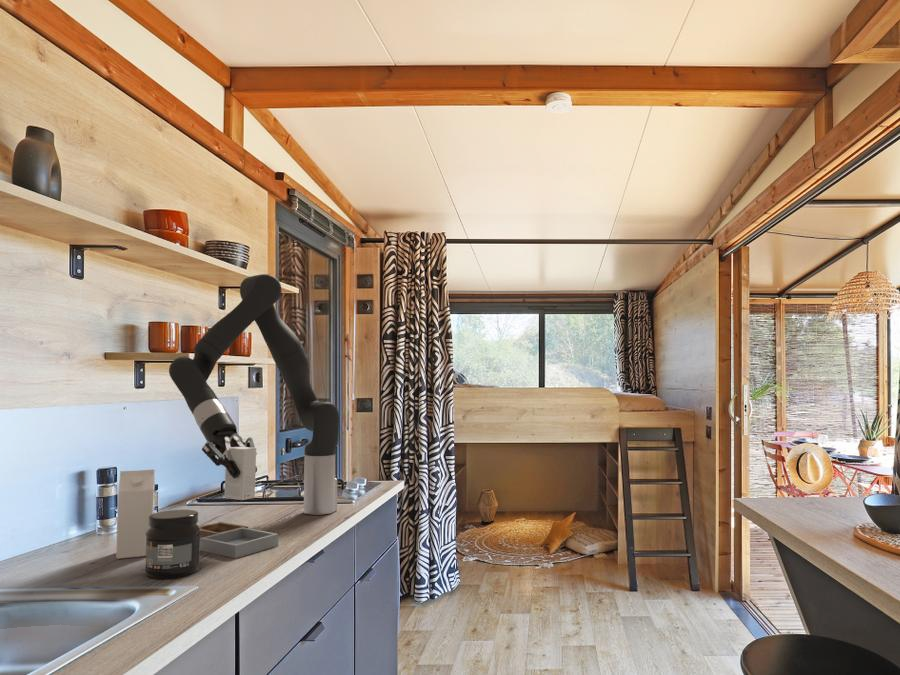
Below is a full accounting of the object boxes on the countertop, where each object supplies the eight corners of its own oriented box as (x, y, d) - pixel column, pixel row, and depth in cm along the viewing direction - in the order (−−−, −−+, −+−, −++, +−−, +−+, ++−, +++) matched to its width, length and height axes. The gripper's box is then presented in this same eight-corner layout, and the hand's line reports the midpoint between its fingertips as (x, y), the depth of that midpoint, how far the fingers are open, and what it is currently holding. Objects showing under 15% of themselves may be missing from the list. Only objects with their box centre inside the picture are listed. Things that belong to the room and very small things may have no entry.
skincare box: (255, 498, 151) (257, 447, 152) (241, 500, 147) (243, 448, 148) (237, 495, 154) (239, 446, 155) (223, 498, 150) (225, 447, 151)
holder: (220, 531, 167) (220, 521, 167) (248, 536, 161) (248, 526, 161) (190, 538, 159) (190, 528, 159) (218, 544, 153) (218, 534, 153)
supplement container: (188, 562, 139) (189, 506, 139) (207, 572, 131) (209, 513, 132) (137, 572, 131) (139, 513, 132) (154, 584, 124) (156, 521, 124)
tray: (243, 538, 159) (243, 527, 159) (278, 545, 152) (278, 533, 152) (199, 550, 148) (199, 538, 148) (235, 558, 141) (235, 545, 141)
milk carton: (118, 551, 147) (121, 469, 148) (152, 548, 150) (154, 467, 151) (116, 559, 140) (118, 473, 142) (151, 556, 143) (153, 471, 144)
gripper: (196, 412, 150) (228, 467, 143) (244, 410, 162) (277, 460, 155) (182, 433, 152) (213, 489, 145) (230, 429, 165) (261, 480, 157)
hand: (245, 474), depth 150 cm, fingers closed on skincare box, 4 cm apart
